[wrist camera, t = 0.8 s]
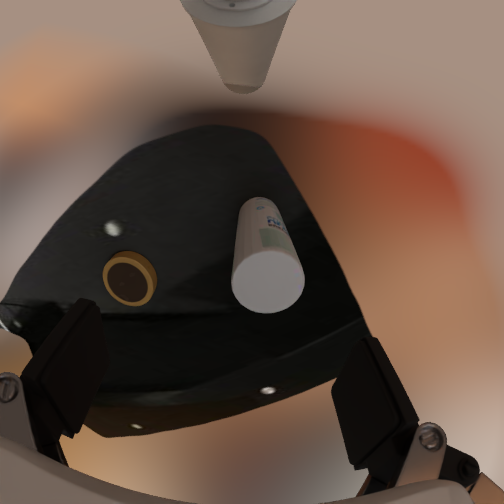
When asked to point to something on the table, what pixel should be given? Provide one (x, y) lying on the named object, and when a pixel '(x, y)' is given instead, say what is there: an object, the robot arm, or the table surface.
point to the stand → (130, 278)
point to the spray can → (265, 260)
